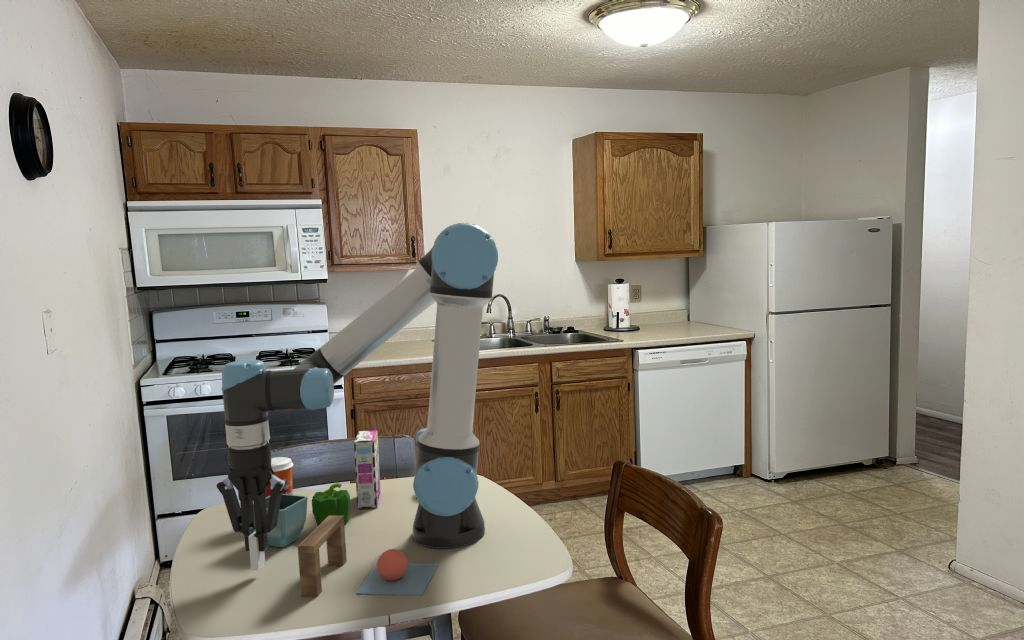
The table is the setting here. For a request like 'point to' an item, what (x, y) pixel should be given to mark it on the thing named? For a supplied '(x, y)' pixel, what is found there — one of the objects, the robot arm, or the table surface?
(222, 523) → the table surface
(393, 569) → the ball
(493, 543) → the table surface
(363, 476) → the candy bar box
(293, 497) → the flower pot
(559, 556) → the table surface
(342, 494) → the bell pepper
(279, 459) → the paper cup
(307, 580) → the bridge
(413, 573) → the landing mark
